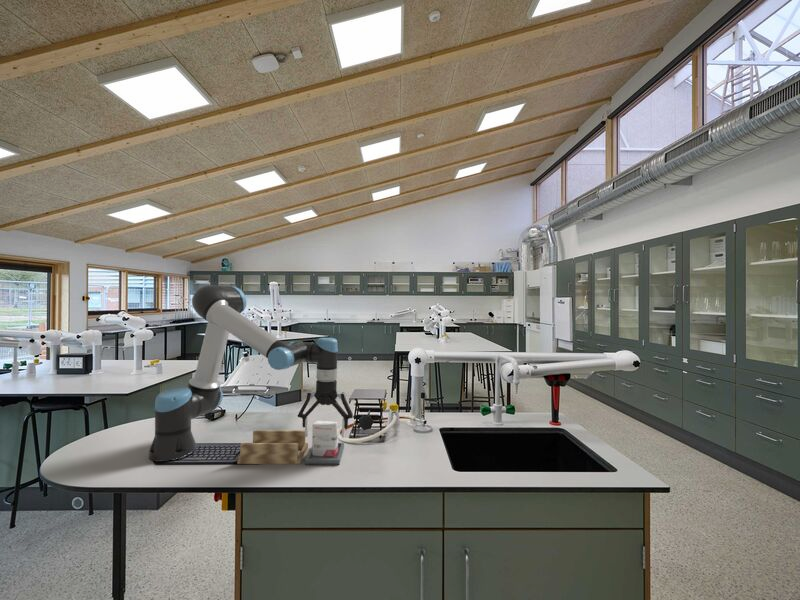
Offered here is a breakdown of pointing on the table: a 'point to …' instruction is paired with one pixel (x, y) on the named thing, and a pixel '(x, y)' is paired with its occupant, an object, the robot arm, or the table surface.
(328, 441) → the ink box
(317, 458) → the tray
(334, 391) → the robot arm
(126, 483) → the table surface
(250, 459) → the rack
